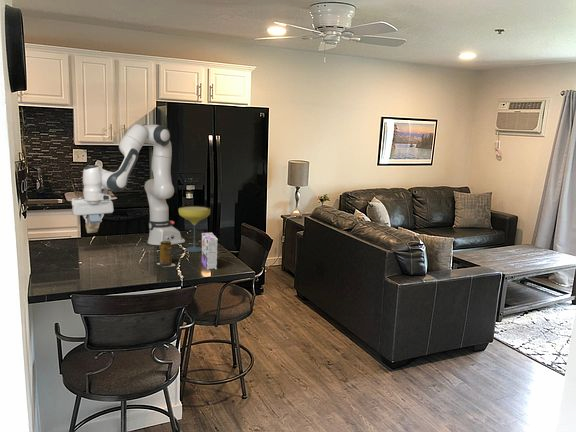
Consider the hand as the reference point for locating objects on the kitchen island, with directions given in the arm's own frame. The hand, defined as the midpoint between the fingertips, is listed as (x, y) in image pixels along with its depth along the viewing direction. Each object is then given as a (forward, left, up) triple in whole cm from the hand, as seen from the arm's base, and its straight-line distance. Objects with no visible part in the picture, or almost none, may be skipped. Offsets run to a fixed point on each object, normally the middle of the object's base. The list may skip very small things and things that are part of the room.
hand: (93, 222), depth 241 cm
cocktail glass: (-53, +11, -19) cm, 57 cm away
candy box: (-45, +44, -19) cm, 66 cm away
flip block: (0, -5, -5) cm, 7 cm away
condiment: (-27, +31, -19) cm, 45 cm away
